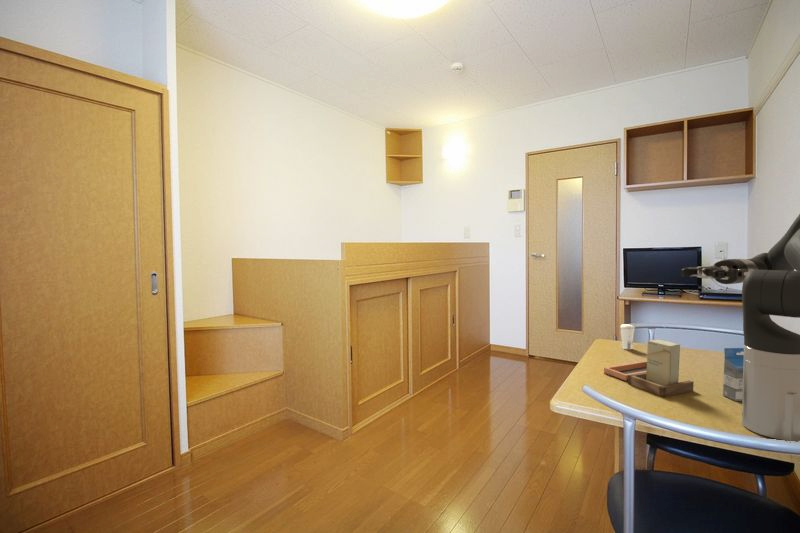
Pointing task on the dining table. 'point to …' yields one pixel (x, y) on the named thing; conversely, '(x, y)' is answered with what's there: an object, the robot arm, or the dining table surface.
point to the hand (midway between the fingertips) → (697, 273)
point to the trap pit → (626, 370)
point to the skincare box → (662, 362)
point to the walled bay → (657, 389)
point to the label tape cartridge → (733, 374)
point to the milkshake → (627, 336)
